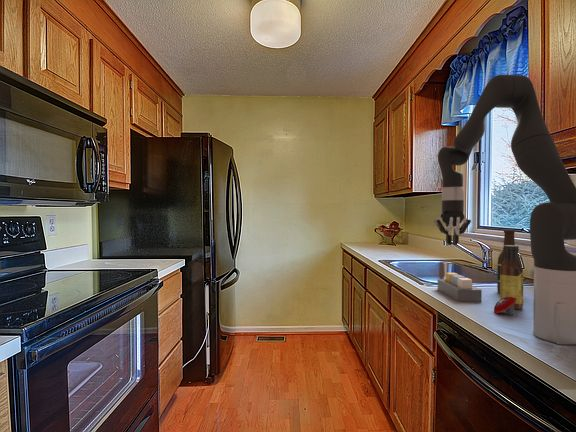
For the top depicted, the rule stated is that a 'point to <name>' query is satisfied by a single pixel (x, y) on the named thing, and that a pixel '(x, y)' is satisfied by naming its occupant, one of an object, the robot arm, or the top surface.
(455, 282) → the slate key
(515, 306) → the sauce bottle
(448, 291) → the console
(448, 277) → the ochre key
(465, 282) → the ivory key
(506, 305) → the button
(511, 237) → the beer bottle
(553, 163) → the robot arm
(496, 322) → the top surface
